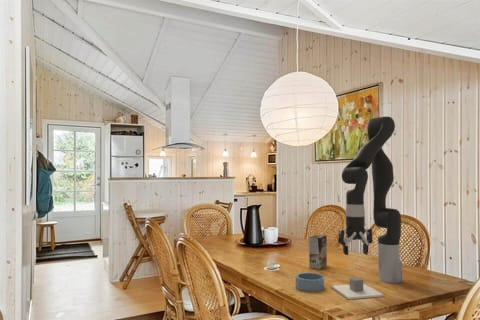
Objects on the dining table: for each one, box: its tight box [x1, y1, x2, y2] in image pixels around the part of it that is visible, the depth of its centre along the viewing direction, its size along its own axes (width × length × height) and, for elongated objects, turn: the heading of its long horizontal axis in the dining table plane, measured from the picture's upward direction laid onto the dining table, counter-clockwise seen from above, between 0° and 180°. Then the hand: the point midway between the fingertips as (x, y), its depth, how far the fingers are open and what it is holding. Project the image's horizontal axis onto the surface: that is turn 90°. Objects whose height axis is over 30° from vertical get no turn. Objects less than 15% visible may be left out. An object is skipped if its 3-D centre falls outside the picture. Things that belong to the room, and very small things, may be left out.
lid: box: [331, 277, 384, 300], centre depth 155 cm, size 15×15×5 cm
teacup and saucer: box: [263, 260, 281, 272], centre depth 196 cm, size 9×8×4 cm
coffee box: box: [308, 234, 328, 270], centre depth 199 cm, size 9×6×16 cm
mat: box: [330, 286, 386, 301], centre depth 155 cm, size 16×16×1 cm
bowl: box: [295, 272, 326, 292], centre depth 163 cm, size 12×12×5 cm
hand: (355, 254), depth 156 cm, fingers open, 8 cm apart
